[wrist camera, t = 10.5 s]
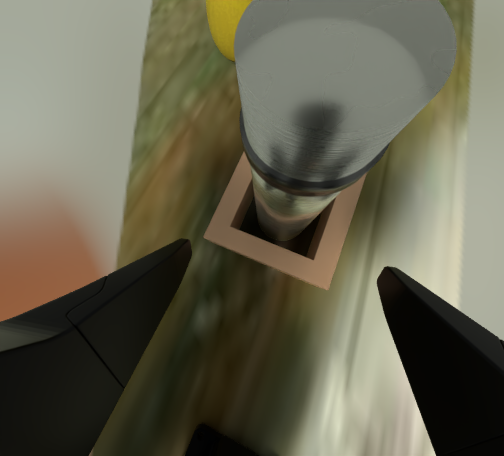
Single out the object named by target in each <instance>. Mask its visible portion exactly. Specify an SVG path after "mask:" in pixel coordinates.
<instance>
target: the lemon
mask: <svg viewBox="0 0 504 456" xmlns="http://www.w3.org/2000/svg"><path fill="white" fill-rule="evenodd" d="M252 1H253V0H206V8H207V16H208V22H209V26H210V30H211V34H212V37H213V39H214V41H215V44H216V45H217V47H218V49H219V50H220V52H221V53H222V54H223V55H224V56H225V57H226V58H228V59H229V60H231V61H233V62H235V56H234V40H235V33H236V30H237V26H238V23H239V21H240V19H241V17H242V15H243V13H244V11H245V10H246V8H247V7H248V5H249V4H250V3H251V2H252Z"/></svg>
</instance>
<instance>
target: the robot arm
mask: <svg viewBox="0 0 504 456" xmlns="http://www.w3.org/2000/svg"><path fill="white" fill-rule="evenodd" d="M191 256H192V250H191V243H190V240H189V239H183V238H181V239H179V240H177V241H175V242H173V243H171V244H169V245H167V246H165V247H163V248H161V249H159V250H157V251H155V252H153V253H151V254H149V255H147V256H145V257H143V258H141V259H139V260H137V261H135V262H133V263H131V264H129V265H127V266H125V267H123V268H121V269H119V270H117V271H115V272H113V273H111V274H109V275H108V276H104V277H102V278H100V279H99V280H96V281H94V282H92V283H90V284H88V285H86V286H84V287H82V288H80V289H78V290H75V291H73V292H71V293H69V294H66V295H64V296H62V297H59V298H57V299H55V300H53V301H50V302H48V303H46V304H43V305H41V306H39V307H37V308H34V309H32V310H30V311H27V312H25V313H23V314H20V315H18V316H16V317H13V318H10V319H7V320H5V321H1V322H0V456H89V454H90V452H91V450H92V448H93V447H94V445H95V443H96V441H97V439H98V437H99V435H100V433H101V432H102V430H103V428H104V426H105V424H106V422H107V420H108V419H109V417H110V415H111V413H112V411H113V409H114V407H115V406H116V404H117V402H118V400H119V398H120V396H121V394H122V392H123V391H124V388H125V387H126V385H127V383H128V381H129V379H130V377H131V375H132V374H133V372H134V370H135V368H136V366H137V364H138V362H139V361H140V359H141V357H142V355H143V353H144V351H145V349H146V347H147V346H148V344H149V342H150V340H151V338H152V336H153V334H154V333H155V331H156V329H157V327H158V325H159V323H160V321H161V320H162V318H163V316H164V314H165V312H166V310H167V308H168V307H169V305H170V303H171V301H172V299H173V297H174V295H175V293H176V292H177V290H178V288H179V286H180V284H181V282H182V279H183V277H184V274H185V272H186V269H187V267H188V264H189V262H190V259H191ZM377 287H378V291H379V295H380V299H381V303H382V307H383V311H384V314H385V318H386V321H387V323H388V326H389V329H390V332H391V334H392V337H393V340H394V343H395V345H396V348H397V351H398V353H399V356H400V359H401V362H402V364H403V367H404V370H405V372H406V375H407V378H408V381H409V383H410V386H411V389H412V391H413V394H414V397H415V400H416V402H417V405H418V408H419V411H420V413H421V416H422V419H423V421H424V424H425V427H426V430H427V432H428V435H429V438H430V440H431V443H432V446H433V449H434V451H435V454H436V456H504V341H503V340H500V339H499V338H498V337H497V336H495V335H494V334H493V333H491V332H490V331H488V330H487V329H485V328H484V327H482V326H481V325H479V324H478V323H477V322H475V321H474V320H472V319H471V318H469V317H468V316H466V315H465V314H463V313H462V312H460V311H459V310H458V309H456V308H455V307H453V306H452V305H450V304H449V303H447V302H446V301H444V300H443V299H442V298H440V297H439V296H437V295H436V294H434V293H433V292H431V291H430V290H428V289H427V288H425V287H424V286H423V285H421V284H420V283H418V282H417V281H415V280H414V279H412V278H411V277H409V276H408V275H407V274H405V273H404V272H402V271H401V270H399V269H398V268H396V267H389V266H387V267H384V269H383V270H382V272H381V274H380V275H379V277H378V279H377ZM199 432H202V433H203V436H200V434H199ZM185 456H258V455H257V454H255V452H253V451H251V450H249V449H248V448H246V447H244V446H243V445H241V444H239V443H237V442H236V441H234V440H232V439H231V438H229V437H227V436H224V435H222V434H221V433H219V432H217V431H215V430H214V429H212V428H210V427H209V426H207V425H205V424H199V425H198V426H197V428H196V430H195V432H194V434H193V437H192V439H191V442H190V444H189V447H188V449H187V452H186V454H185Z"/></svg>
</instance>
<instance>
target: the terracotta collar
mask: <svg viewBox="0 0 504 456" xmlns="http://www.w3.org/2000/svg"><path fill="white" fill-rule="evenodd" d="M366 174H367V173H366ZM366 174H364V175H363V176H362V177H361V178H360V179H359V180H358V181H357V182H355V183H354V184H352V185H351V186H350V187H348V188H346V189H344V190H342V191H341V192H340V193H339V194H338V195H337V196H336V197H335V198H334V199H333V200H332V201H331V202H330V203H329V204H328V205H327V206H326V207H325V208H324V209H323V211H322V214H321V217H320V219H319V222H318V225H317V228H316V230H315V233H314V236H313V239H312V241H311V244H310V247H309V250H308V252H307V255H306V257H304V256H302V255H299V254H297V253H294V252H292V251H289V250H287V249H284V248H282V247H279V246H277V245H274V244H272V243H270V242H267V241H265V240H262V239H260V238H257V237H255V236H252V235H250V234H247V233H245V232H242V231H240V230H239V229H240V227H241V224H242V222H243V220H244V218H245V215H246V213H247V211H248V208H249V206H250V204H251V202H252V199H253V197H254V188H253V181H252V174H251V167H250V163H249V161H248V160H247V157H246V154H245V152H243V154H242V157H241V159H240V161H239V163H238V165H237V167H236V169H235V171H234V173H233V175H232V178H231V180H230V182H229V184H228V186H227V188H226V190H225V192H224V194H223V197H222V199H221V201H220V203H219V205H218V207H217V209H216V211H215V213H214V215H213V218H212V220H211V222H210V224H209V226H208V228H207V230H206V232H205V234H204V237H203V238H205V239H207V240H209V241H211V242H212V243H214V244H216V245H219V246H221V247H223V248H226V249H228V250H230V251H233V252H235V253H237V254H240V255H242V256H245V257H247V258H249V259H252V260H254V261H256V262H259V263H261V264H263V265H266V266H268V267H270V268H273V269H275V270H277V271H280V272H282V273H285V274H287V275H289V276H292V277H294V278H296V279H299V280H301V281H303V282H306V283H308V284H310V285H313V286H315V287H319V288H322V289H325V290H328V289H329V286H330V283H331V280H332V277H333V274H334V271H335V268H336V265H337V262H338V259H339V256H340V253H341V250H342V247H343V244H344V241H345V238H346V235H347V232H348V229H349V226H350V223H351V220H352V217H353V214H354V211H355V208H356V205H357V202H358V199H359V196H360V192H361V189H362V186H363V183H364V180H365V177H366Z"/></svg>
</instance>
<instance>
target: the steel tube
mask: <svg viewBox="0 0 504 456" xmlns="http://www.w3.org/2000/svg"><path fill="white" fill-rule="evenodd" d="M234 56H235V63H236V70H237V77H238V84H239V91H240V98H241V105H242V108H241V112H240V131H241V136H242V142H243V147H244V152H245V154H246V157H247V160H248V161H249V163H250V167H251V174H252V181H253V188H254V195H255V202H256V209H257V216H258V222H259V226H260V228H261V229H262V231H263V232H264V233H265V234H266V235H267V236H268V237H270V238H272V239H275V240H279V241H286V240H290V239H293V238H295V237H296V236H298V235H299V234H300V233H301V232H302V231H303V230H304V229H305V228H306V227H307V226H308V225H309V224H310V223H311V222H312V221H313V220H314V219H315V218H316V217H317V216H318V215H319V213H320V212H321V211H322V210H323V209H324V208H325V207H326V206H327V205H328V204H329V203H330V202H331V201H332V200H333V199H334V198H335V197H336V196H337V195H338V194H339V193H340V192H341V191H342V190H344V189H346V188H348V187H350V186H351V185H352V184H354V183H355V182H357V181H358V180H359V179H360V178H361V177H362V176H363V175H364V174H366V173H367V172H368V171H369V170H370V169H371V168H372V167H373V166H374V165H375V164H376V163H377V162H378V161H379V160H380V158H381V157H382V156H383V154H384V153H385V151H386V149H387V148H388V146H389V143H390V141H391V140H392V139H393V138H394V137H395V136H396V135H397V134H398V133H399V132H400V131H401V130H402V129H403V128H404V127H405V126H406V125H407V124H408V123H409V122H410V121H411V120H412V119H413V118H414V117H415V116H416V115H417V114H418V113H419V112H420V111H421V110H422V109H423V108H424V107H425V106H426V105H427V104H428V103H429V102H430V101H431V100H432V99H433V98H434V97H435V96H436V94H437V93H438V92H439V91H440V89H441V88H442V87H443V86H444V84H445V82H446V81H447V79H448V77H449V76H450V73H451V71H452V68H453V65H454V62H455V56H456V36H455V31H454V27H453V25H452V22H451V19H450V17H449V15H448V14H447V12H446V10H445V9H444V7H443V6H442V5H441V3H440V2H439V1H438V0H253V1H252V2H251V3H250V4H249V5H248V7H247V8H246V10H245V11H244V13H243V15H242V17H241V19H240V21H239V23H238V26H237V30H236V33H235V40H234Z"/></svg>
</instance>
